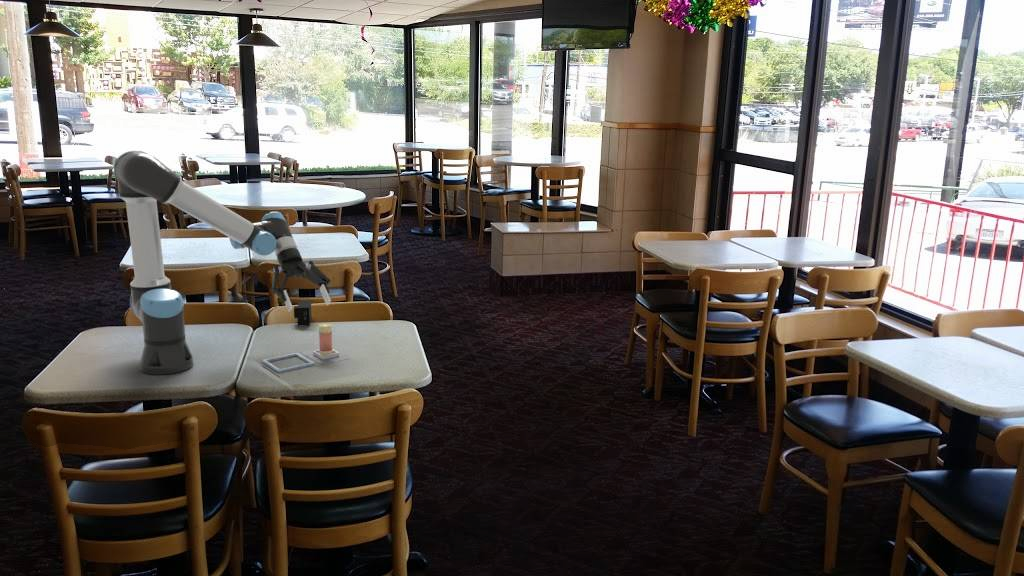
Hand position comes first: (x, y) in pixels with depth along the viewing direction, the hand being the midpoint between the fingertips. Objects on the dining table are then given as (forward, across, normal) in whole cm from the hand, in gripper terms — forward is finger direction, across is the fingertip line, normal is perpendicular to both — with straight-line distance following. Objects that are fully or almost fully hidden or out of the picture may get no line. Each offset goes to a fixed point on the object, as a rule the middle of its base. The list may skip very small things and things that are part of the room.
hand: (309, 306), depth 258 cm
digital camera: (-12, -13, -34) cm, 38 cm away
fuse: (+17, 0, -2) cm, 17 cm away
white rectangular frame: (+18, 0, -4) cm, 19 cm away
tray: (+18, +13, -4) cm, 23 cm away
